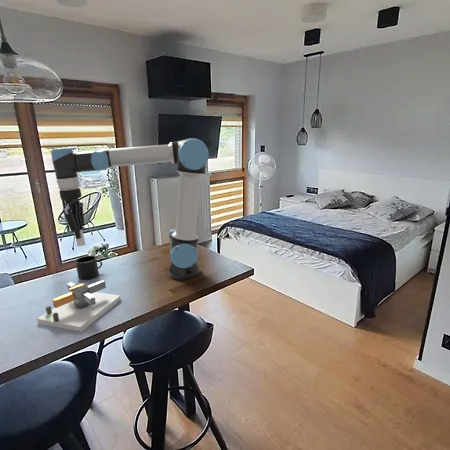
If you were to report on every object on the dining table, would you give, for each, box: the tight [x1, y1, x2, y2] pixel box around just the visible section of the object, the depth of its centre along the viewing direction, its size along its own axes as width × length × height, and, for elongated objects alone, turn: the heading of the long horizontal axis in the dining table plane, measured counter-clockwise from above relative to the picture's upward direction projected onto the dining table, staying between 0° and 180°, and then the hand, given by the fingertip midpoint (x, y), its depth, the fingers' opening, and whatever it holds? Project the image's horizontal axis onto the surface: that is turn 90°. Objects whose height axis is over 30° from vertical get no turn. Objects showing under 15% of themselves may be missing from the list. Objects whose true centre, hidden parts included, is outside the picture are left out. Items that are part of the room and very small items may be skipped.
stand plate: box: [36, 291, 122, 333], centre depth 124 cm, size 20×24×5 cm
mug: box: [75, 255, 103, 281], centre depth 157 cm, size 9×12×9 cm
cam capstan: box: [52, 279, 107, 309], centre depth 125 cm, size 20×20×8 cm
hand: (81, 245), depth 130 cm, fingers closed
